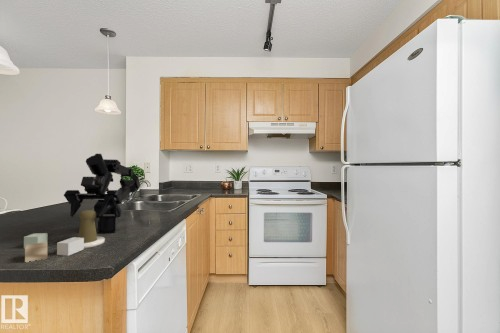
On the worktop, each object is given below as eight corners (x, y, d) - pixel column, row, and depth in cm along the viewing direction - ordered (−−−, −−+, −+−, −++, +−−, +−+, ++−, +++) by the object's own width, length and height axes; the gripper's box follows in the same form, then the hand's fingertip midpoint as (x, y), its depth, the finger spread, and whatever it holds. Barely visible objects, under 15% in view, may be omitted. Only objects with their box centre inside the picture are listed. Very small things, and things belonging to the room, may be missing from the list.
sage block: (47, 244, 87) (47, 233, 87) (37, 248, 83) (37, 236, 83) (34, 244, 87) (34, 233, 87) (23, 248, 82) (23, 236, 82)
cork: (78, 239, 90) (78, 209, 89) (97, 237, 92) (98, 208, 92) (76, 244, 84) (76, 212, 84) (96, 241, 87) (97, 211, 87)
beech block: (47, 254, 78) (47, 241, 78) (47, 258, 74) (47, 245, 74) (26, 257, 74) (26, 244, 74) (25, 263, 71) (25, 249, 71)
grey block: (73, 248, 83) (73, 237, 83) (83, 249, 82) (83, 237, 82) (56, 255, 77) (57, 242, 77) (68, 256, 76) (68, 243, 76)
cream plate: (108, 238, 95) (108, 235, 95) (98, 247, 84) (98, 244, 84) (76, 239, 92) (76, 237, 92) (61, 249, 82) (61, 246, 82)
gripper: (67, 168, 91) (45, 202, 80) (119, 169, 93) (105, 202, 82) (79, 187, 99) (60, 221, 88) (127, 188, 101) (115, 220, 90)
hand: (85, 215), depth 87 cm, fingers open, 9 cm apart
